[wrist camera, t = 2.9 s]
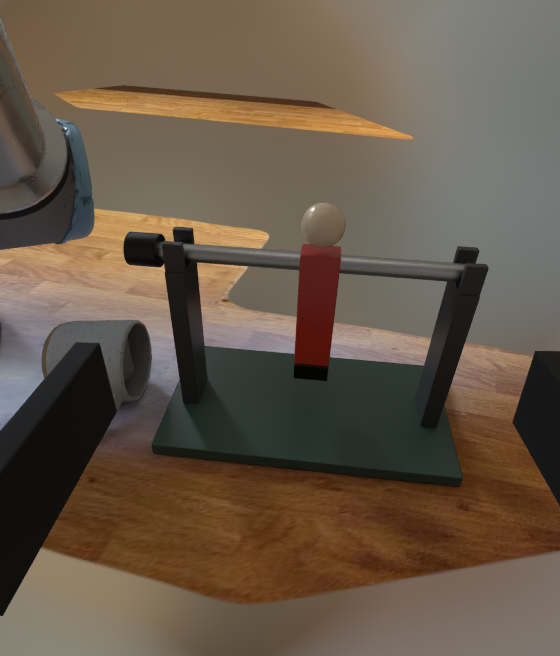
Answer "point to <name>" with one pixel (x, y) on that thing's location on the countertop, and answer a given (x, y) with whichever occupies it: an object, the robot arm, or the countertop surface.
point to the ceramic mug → (107, 352)
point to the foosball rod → (302, 276)
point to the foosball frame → (314, 394)
